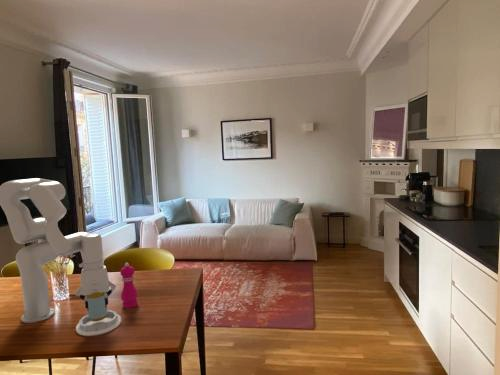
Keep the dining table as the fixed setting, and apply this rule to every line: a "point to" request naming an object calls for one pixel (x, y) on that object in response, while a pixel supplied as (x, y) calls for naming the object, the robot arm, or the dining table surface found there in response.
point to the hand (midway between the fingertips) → (97, 307)
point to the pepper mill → (128, 287)
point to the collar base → (98, 324)
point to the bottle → (96, 304)
